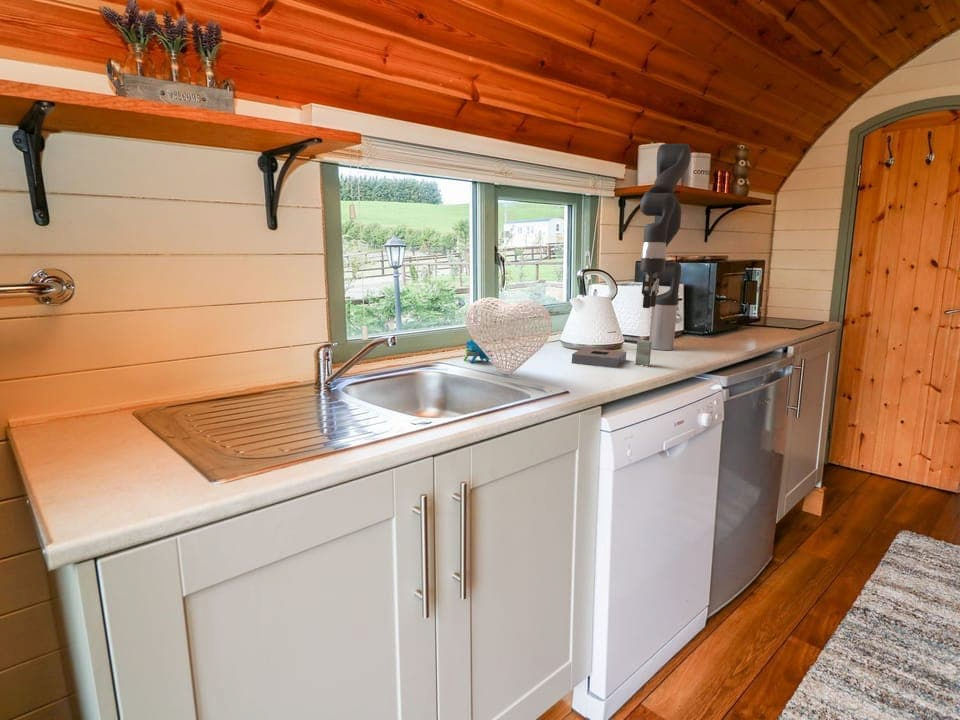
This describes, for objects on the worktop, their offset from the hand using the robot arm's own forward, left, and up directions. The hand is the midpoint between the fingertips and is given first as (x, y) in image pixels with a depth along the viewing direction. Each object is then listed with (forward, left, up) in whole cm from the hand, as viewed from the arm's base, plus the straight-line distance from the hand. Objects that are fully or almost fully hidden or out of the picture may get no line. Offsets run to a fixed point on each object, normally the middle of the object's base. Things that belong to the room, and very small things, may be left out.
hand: (649, 307), depth 190 cm
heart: (+38, -34, -19) cm, 55 cm away
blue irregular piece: (+25, -49, -19) cm, 59 cm away
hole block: (+3, -14, -19) cm, 24 cm away
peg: (+1, 0, -19) cm, 19 cm away
